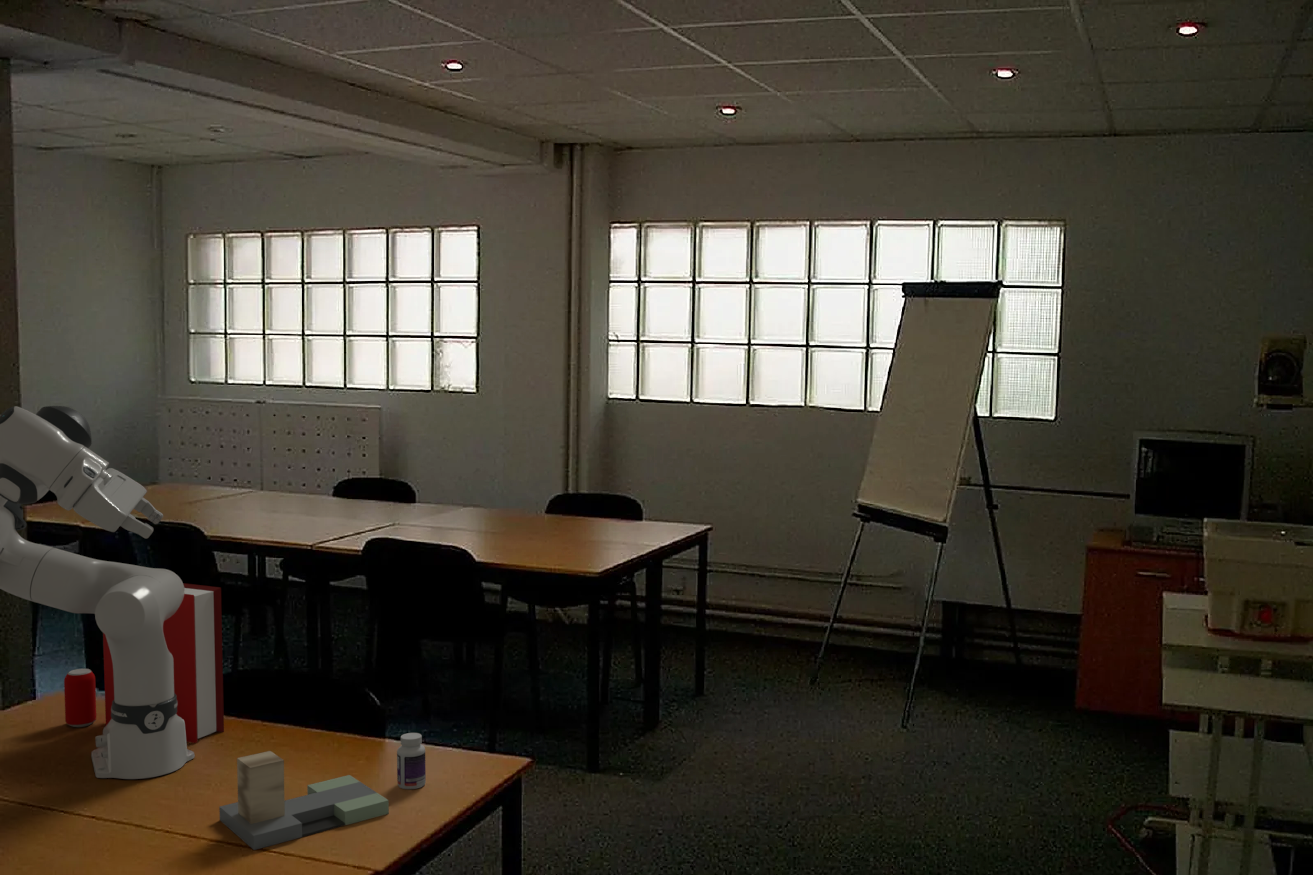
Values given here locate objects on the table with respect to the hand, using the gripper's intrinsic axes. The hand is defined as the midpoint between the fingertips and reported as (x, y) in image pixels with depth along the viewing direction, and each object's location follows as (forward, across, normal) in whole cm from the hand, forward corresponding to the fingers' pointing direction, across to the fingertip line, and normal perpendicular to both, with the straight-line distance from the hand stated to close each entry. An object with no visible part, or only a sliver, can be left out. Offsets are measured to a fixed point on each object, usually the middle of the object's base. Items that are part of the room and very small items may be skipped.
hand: (155, 527), depth 202 cm
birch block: (+44, +3, -31) cm, 54 cm away
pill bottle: (+68, -12, -18) cm, 71 cm away
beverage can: (+15, -63, -65) cm, 92 cm away
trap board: (+52, 0, -29) cm, 59 cm away
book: (+29, -56, -53) cm, 83 cm away
